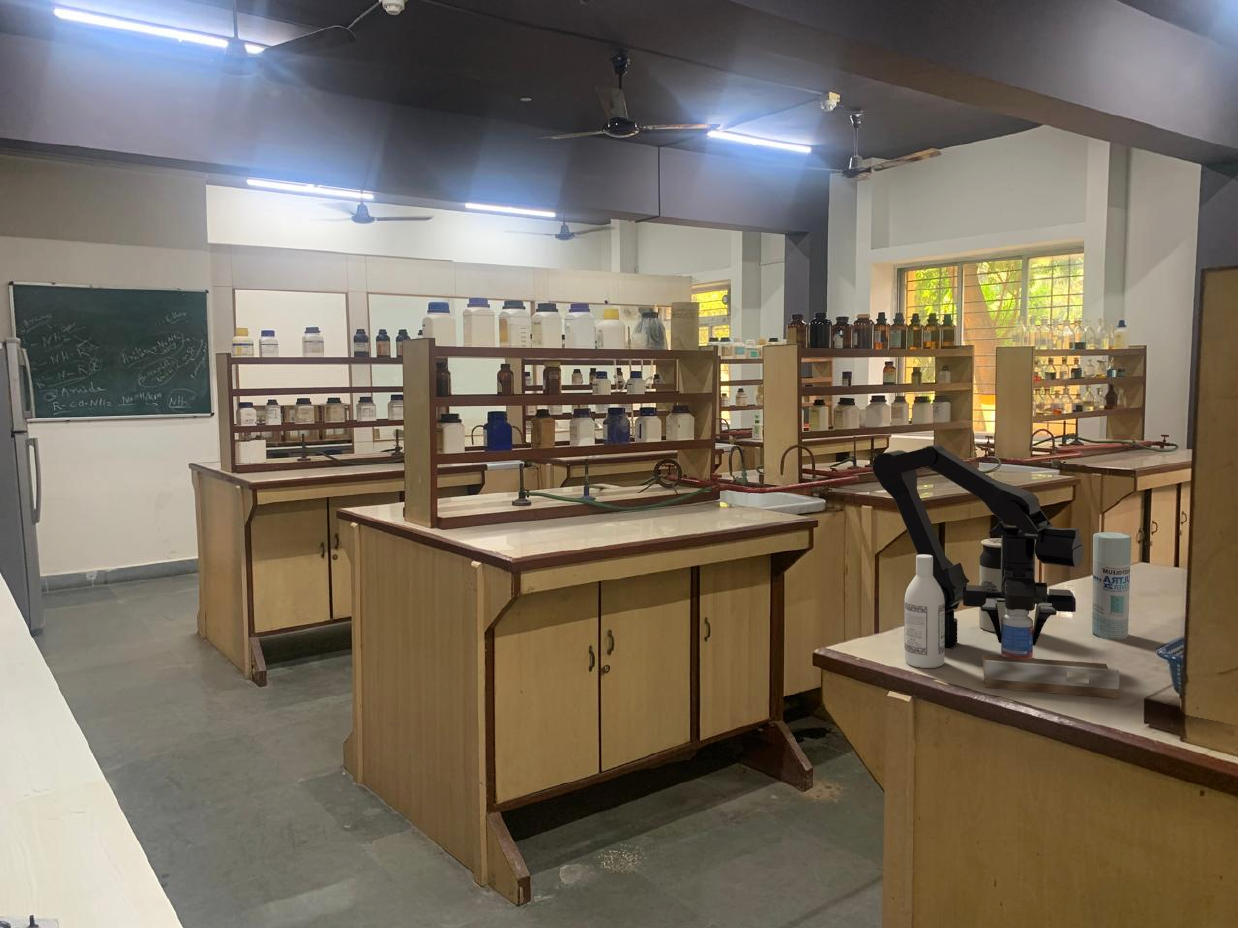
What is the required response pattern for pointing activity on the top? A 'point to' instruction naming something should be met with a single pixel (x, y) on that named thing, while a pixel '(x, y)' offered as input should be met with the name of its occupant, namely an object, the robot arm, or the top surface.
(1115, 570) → the spray paint can
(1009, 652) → the pill bottle
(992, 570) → the travel mug
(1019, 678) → the shelf board
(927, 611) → the bath foam
